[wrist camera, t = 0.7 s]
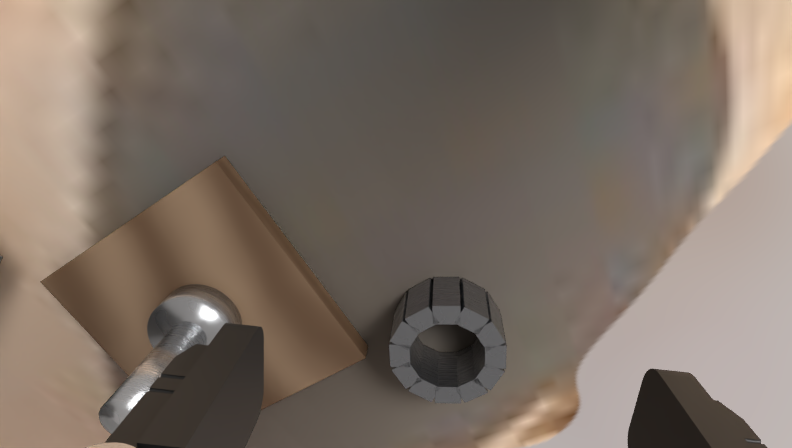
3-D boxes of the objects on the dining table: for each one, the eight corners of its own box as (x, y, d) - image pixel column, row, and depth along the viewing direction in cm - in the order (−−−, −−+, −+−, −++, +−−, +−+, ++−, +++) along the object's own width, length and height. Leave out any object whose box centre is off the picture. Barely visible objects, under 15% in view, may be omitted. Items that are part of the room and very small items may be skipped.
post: (206, 270, 30) (122, 359, 22) (258, 333, 31) (196, 438, 23) (147, 306, 31) (47, 402, 23) (199, 365, 32) (121, 475, 24)
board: (224, 156, 28) (215, 161, 27) (368, 346, 32) (365, 358, 31) (54, 272, 32) (40, 281, 31) (200, 430, 36) (192, 443, 35)
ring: (466, 259, 29) (468, 286, 26) (519, 340, 31) (527, 375, 28) (375, 306, 31) (367, 337, 28) (429, 382, 33) (428, 418, 30)
